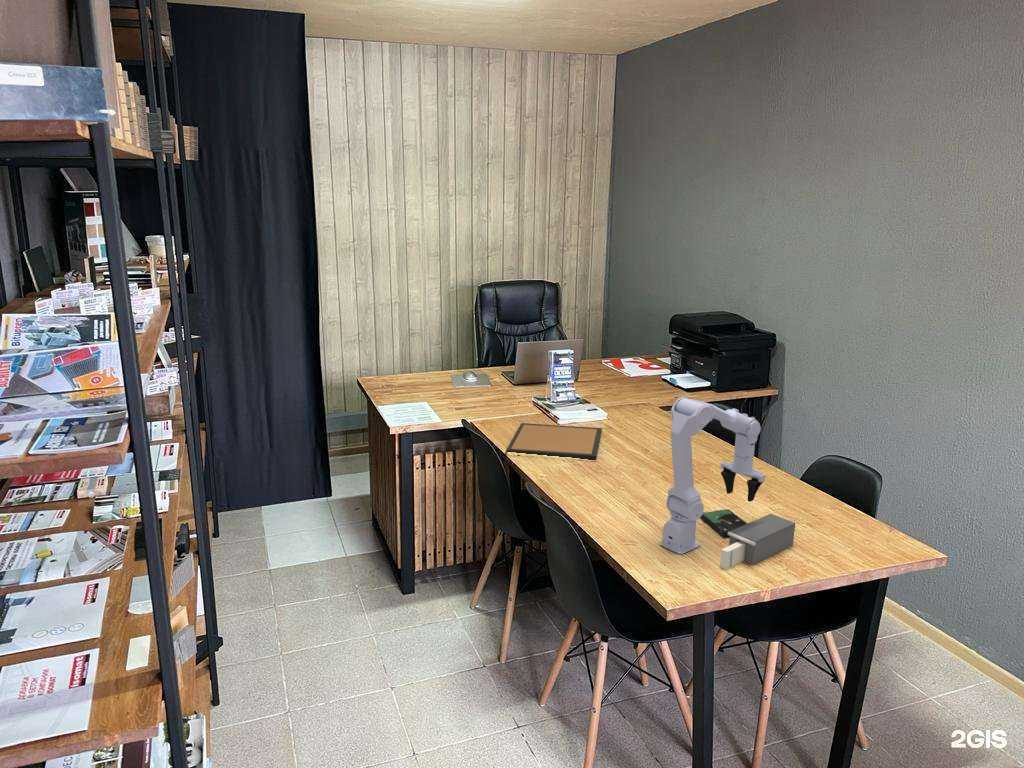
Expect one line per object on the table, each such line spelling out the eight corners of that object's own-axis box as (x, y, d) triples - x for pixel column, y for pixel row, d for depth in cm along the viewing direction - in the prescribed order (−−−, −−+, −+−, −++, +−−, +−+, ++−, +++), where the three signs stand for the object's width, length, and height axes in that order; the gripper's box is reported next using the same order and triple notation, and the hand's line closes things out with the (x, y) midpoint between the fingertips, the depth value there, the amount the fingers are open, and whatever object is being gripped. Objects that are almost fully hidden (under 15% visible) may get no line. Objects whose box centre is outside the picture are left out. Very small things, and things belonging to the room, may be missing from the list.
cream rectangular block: (725, 570, 207) (727, 551, 205) (719, 567, 208) (721, 549, 207) (760, 553, 216) (761, 536, 215) (753, 551, 218) (755, 533, 217)
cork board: (506, 456, 295) (596, 462, 289) (506, 449, 294) (596, 455, 288) (521, 429, 329) (601, 434, 323) (521, 423, 328) (602, 428, 322)
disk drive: (753, 536, 228) (727, 516, 242) (754, 528, 227) (728, 508, 241) (723, 540, 225) (699, 519, 239) (723, 531, 225) (699, 511, 239)
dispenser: (751, 566, 209) (753, 542, 207) (725, 554, 215) (727, 531, 213) (793, 545, 221) (796, 523, 219) (767, 535, 228) (770, 513, 226)
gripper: (772, 458, 225) (768, 501, 228) (731, 446, 236) (728, 486, 239) (758, 463, 220) (754, 506, 224) (717, 450, 231) (714, 491, 235)
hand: (740, 496), depth 231 cm, fingers open, 7 cm apart
